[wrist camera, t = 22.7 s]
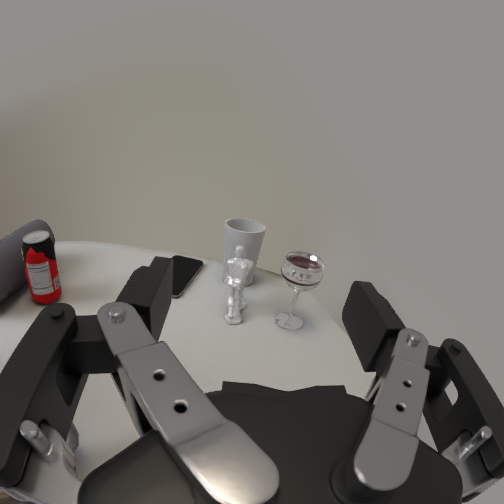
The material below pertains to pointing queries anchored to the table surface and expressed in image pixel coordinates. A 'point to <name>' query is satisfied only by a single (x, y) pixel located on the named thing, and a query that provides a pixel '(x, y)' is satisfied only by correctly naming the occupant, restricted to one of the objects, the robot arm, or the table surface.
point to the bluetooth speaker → (16, 257)
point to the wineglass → (299, 282)
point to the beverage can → (41, 267)
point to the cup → (243, 242)
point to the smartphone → (183, 273)
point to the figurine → (236, 285)
